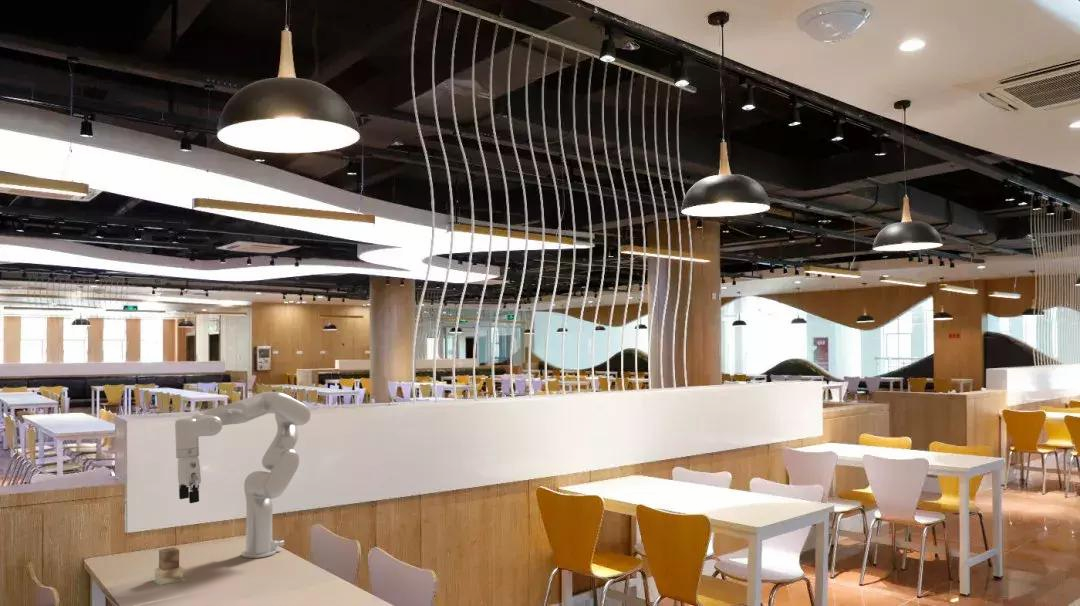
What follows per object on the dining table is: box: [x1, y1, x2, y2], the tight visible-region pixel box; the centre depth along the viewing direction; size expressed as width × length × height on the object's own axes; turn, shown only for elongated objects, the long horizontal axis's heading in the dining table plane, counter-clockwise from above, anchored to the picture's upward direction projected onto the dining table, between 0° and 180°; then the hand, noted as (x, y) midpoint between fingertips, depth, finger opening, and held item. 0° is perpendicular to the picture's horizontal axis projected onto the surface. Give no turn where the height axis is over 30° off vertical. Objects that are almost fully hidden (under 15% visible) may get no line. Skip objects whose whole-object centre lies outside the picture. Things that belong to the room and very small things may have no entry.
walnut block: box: [158, 546, 180, 571], centre depth 266 cm, size 5×5×6 cm
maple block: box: [154, 564, 184, 585], centre depth 266 cm, size 7×7×4 cm
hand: (189, 500), depth 279 cm, fingers open, 9 cm apart
